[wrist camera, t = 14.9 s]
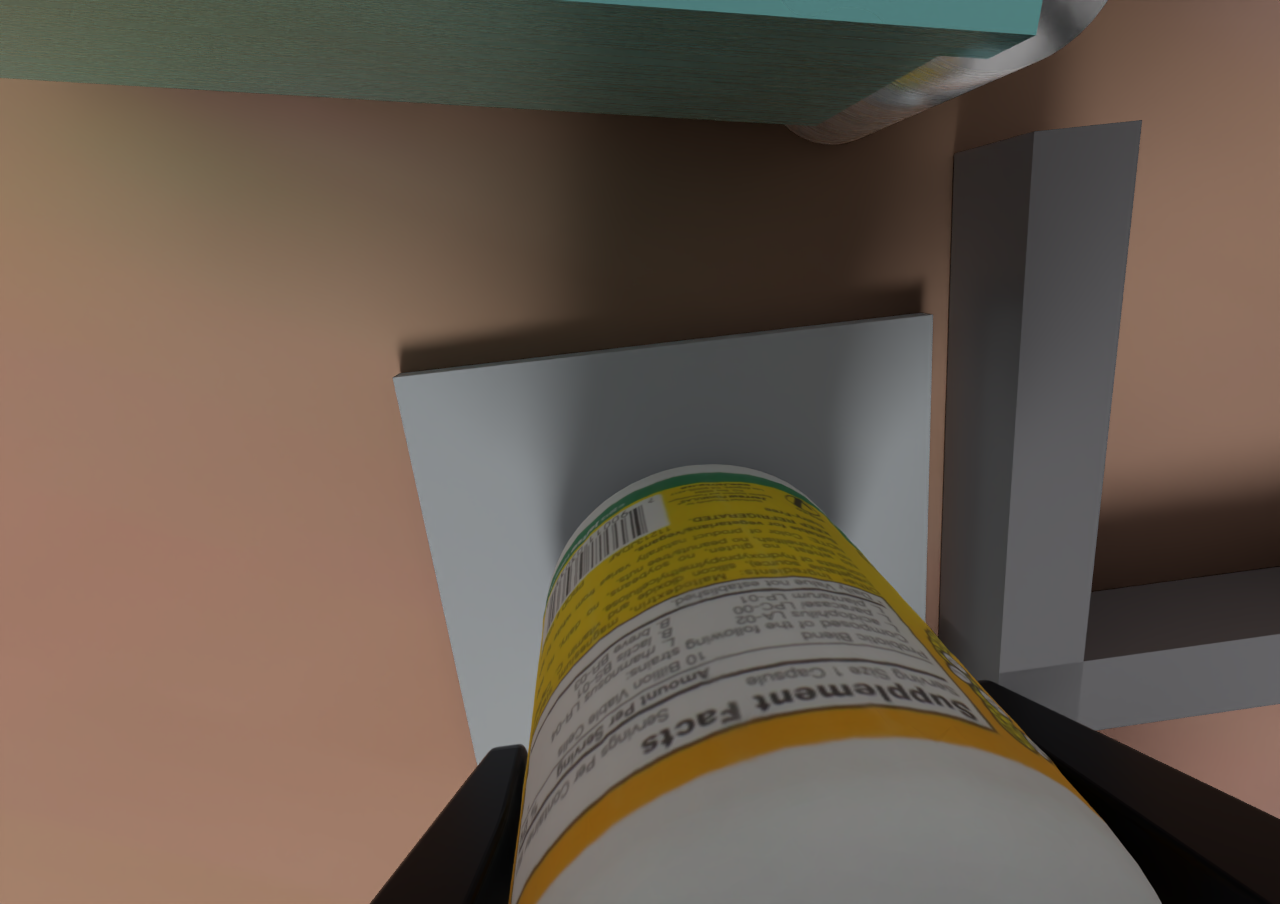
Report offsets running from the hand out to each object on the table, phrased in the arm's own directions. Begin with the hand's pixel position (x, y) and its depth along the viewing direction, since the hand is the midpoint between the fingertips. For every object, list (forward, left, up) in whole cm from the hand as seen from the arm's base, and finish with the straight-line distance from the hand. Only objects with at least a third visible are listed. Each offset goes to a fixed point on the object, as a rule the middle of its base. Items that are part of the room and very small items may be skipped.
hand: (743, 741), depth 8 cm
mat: (0, 0, -4) cm, 4 cm away
